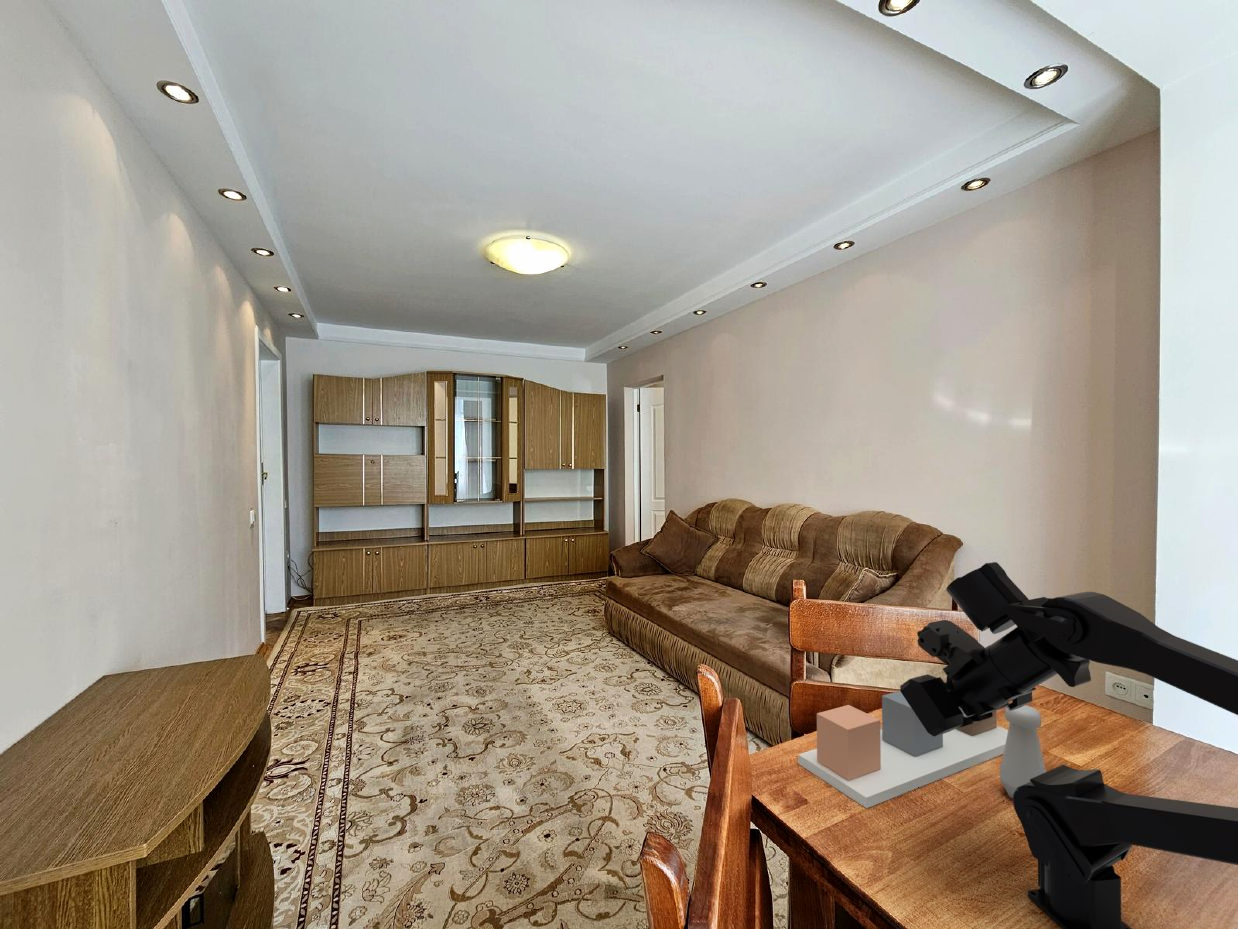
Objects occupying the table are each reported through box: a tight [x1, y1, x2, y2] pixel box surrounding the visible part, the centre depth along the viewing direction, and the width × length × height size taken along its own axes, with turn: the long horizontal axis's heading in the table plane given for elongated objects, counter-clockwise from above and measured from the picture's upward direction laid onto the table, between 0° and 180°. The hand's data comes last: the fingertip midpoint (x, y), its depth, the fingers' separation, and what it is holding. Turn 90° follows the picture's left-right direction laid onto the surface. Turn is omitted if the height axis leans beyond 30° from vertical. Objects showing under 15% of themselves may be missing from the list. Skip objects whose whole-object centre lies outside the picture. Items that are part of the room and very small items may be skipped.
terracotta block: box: [816, 704, 881, 780], centre depth 85 cm, size 6×7×8 cm
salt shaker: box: [998, 704, 1047, 800], centre depth 80 cm, size 6×6×13 cm
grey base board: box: [797, 725, 1008, 809], centre depth 91 cm, size 39×13×2 cm, turn 116°
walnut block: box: [941, 677, 998, 736], centre depth 98 cm, size 6×7×8 cm
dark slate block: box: [881, 690, 943, 756], centre depth 92 cm, size 6×7×8 cm
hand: (924, 721), depth 74 cm, fingers closed
